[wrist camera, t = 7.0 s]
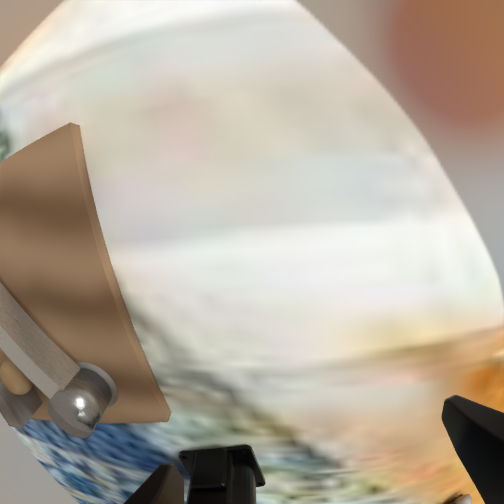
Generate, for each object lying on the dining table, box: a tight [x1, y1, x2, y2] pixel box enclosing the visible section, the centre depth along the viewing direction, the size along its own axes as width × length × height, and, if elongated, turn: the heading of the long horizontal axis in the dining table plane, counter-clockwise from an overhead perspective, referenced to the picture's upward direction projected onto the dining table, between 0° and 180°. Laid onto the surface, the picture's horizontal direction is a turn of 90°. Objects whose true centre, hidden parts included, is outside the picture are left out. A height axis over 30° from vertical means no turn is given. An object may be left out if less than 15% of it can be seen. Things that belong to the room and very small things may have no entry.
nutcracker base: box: [0, 123, 171, 428], centre depth 17 cm, size 22×16×5 cm
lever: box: [0, 282, 112, 438], centre depth 16 cm, size 17×4×4 cm, turn 46°
